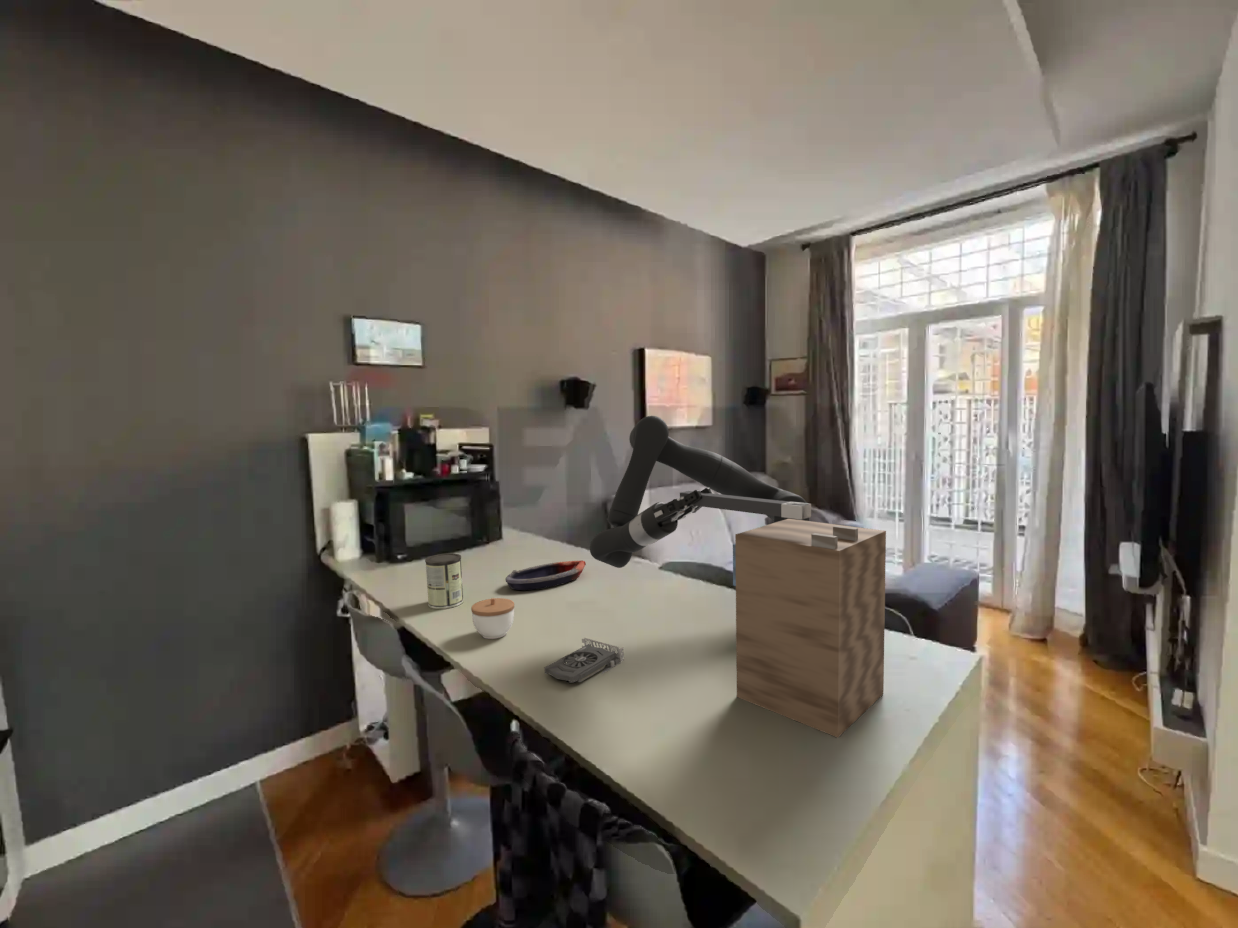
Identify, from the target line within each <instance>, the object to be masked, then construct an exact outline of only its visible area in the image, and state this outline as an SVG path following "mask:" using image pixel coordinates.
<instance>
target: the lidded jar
mask: <svg viewBox="0 0 1238 928" xmlns="http://www.w3.org/2000/svg"><path fill="white" fill-rule="evenodd" d="M470 610H471V617H472V622H473V626H474V628H475V630H476V632H478V634H480V636H482V638H484V639H489V640H494V639H500V638H503V637H504V636H506V635H507V633H508V632H509V631H510V629H511V628H512V626H513V624H514V620H515V602H514V601H513V600H512V599H509V598H504V597H503V598H502V597H501V598H499V597H496V598H495V597H491V598H488V599H483V600H479V601H477V602H475V603H473V604H472V605H471V608H470Z"/></svg>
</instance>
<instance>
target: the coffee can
mask: <svg viewBox="0 0 1238 928" xmlns="http://www.w3.org/2000/svg"><path fill="white" fill-rule="evenodd" d="M424 561H425V570H426V571H425V572H426V573H425V574H426V587H427V599H428V602H427V605H428V608H430V609H433V610H444V609H446V610H447V609H451V608H455V607H458V606H460V605H462V604H463V602H464V591H463V590H464V589H463V576H462V575H463V572H462V555H461V554H458V553H449V552H448V553H440V554H434V555H431V556H428V557H426V558H425V559H424Z"/></svg>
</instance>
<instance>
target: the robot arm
mask: <svg viewBox="0 0 1238 928" xmlns="http://www.w3.org/2000/svg"><path fill="white" fill-rule="evenodd" d="M669 433H670V432H669V427H668V424H667V423H666V421H664V419H662V418H661V417H659V416H656V415H648V416H644V417H643V418H642V419H640V420H639V421H638V422H637V423H636V424H635V425H634V427H633V428H632V430H631V431H630V434H629V436H628V437H629V439H628V440H629V443H630V446H631V448H632V452H631V453H632V454H631V457H630V460H629V463H628V466H627V468H626V470H625V473H624V474H623V476H622V479H621V481H620V483H619V486H618V488H617V490H616V491H615V494H614V495H615V496H614V498H613V500H612V504H611V506H610V510H609V512H608V515H607V522H608V523H609V524H610V525H611V526H612V528H608V529H604V530H601V531H600V532H598V533H597V534H596V535H595V536H594V537H593V538H592V540H591V542H590V545H589V552H590V553H589V554H590V555H591V556H592V558H594V559H595V560H597V561H598V562H601V563H604V564H605V565H609V566H611V567H613V568H618V569H621V568H624V567H626V565H628V564H629V562H630V560H631V558H632V556H633V553H636V552H638V551H640V550H642V549H644V548H645V547H647V546H649V545H652V544H655V543H656V542H658V541H660V540H662V539H663V538H665V537H667V536H669V535H670V534H672V533H674V532H676V529H677V528H678V524H679V521H681V520H683V519H686V517H687V516H688V515H690V514H691V513H692V514H694V513H695V514H696V513H697V512H698V511H699V510H700V509H701V508H702V507H701V506H693V504H694V503H696V502H698V501H699V500H701V499H702V495H701V493H700V492H702V493H712V491H714V492H715V493H717V494H722V495H731V496H741V497H750V498H760V499H769V500H779V501H788V502H800V503H807V501H806V500H805V499H804V498H803V497H802V496H801V495H799V494H796V493H794V492H791V491H790V490H789V491H788V490H785V489H782V488H780V487H776V486H774V485H771V484H769V483H766V482H765V481H763V480H761V479H758V478H757V477H756V476H754V474H752V473H750V472H749V471H748V470H746V469H745V468H743V467H742V466H741V465H739V464H738V463H736V462H734V461H733V460H730V459H728V458H727V457H724V456H723V455H721V454H718V453H716V452H714V451H711V450H708V449H704V448H699V447H695V446H690V445H687V444H684V443H682V442H679V441H677V440H675V439H673V438H672V437H670V434H669ZM656 462H658V463H661V464H663V465H665V466H668V467H670V468H672V469H673V470H676V471H677V472H679V473H680V474H682V475H684V476H686V477H688V478H689V479H692V480H693V481H695V482H697V483H699V484H701V485H702V486H705V488H704V489H702V490H699V489H694V490H693V492H691V493H690V494H688V495H686V496H685V497H680V496H679V498H674V499H671V501H668V502H667V503H665V502H662V501H658V502H657V501H656V502H655V503H654V504H652V505H650V506H649V507H648V508H646V509H645V510H643V511H641V512H640V509H641V506H642V502H643V500H644V496H645V494H646V493H645V492H646V491H647V490H646V489H647V486H648V483H649V480H650V476H651V474H652V472H653V470H654V467H655V466H656V465H655V464H656ZM712 494H713V493H712ZM765 516H767V517H768V518H769V519H771V520H772V521H773V523H775V522H779V521H782V520H786V519H793V518H785V517H779V516H771V515H765ZM795 520H801V519H795ZM802 520H803V521H810V517H809V518H805V519H802Z"/></svg>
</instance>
